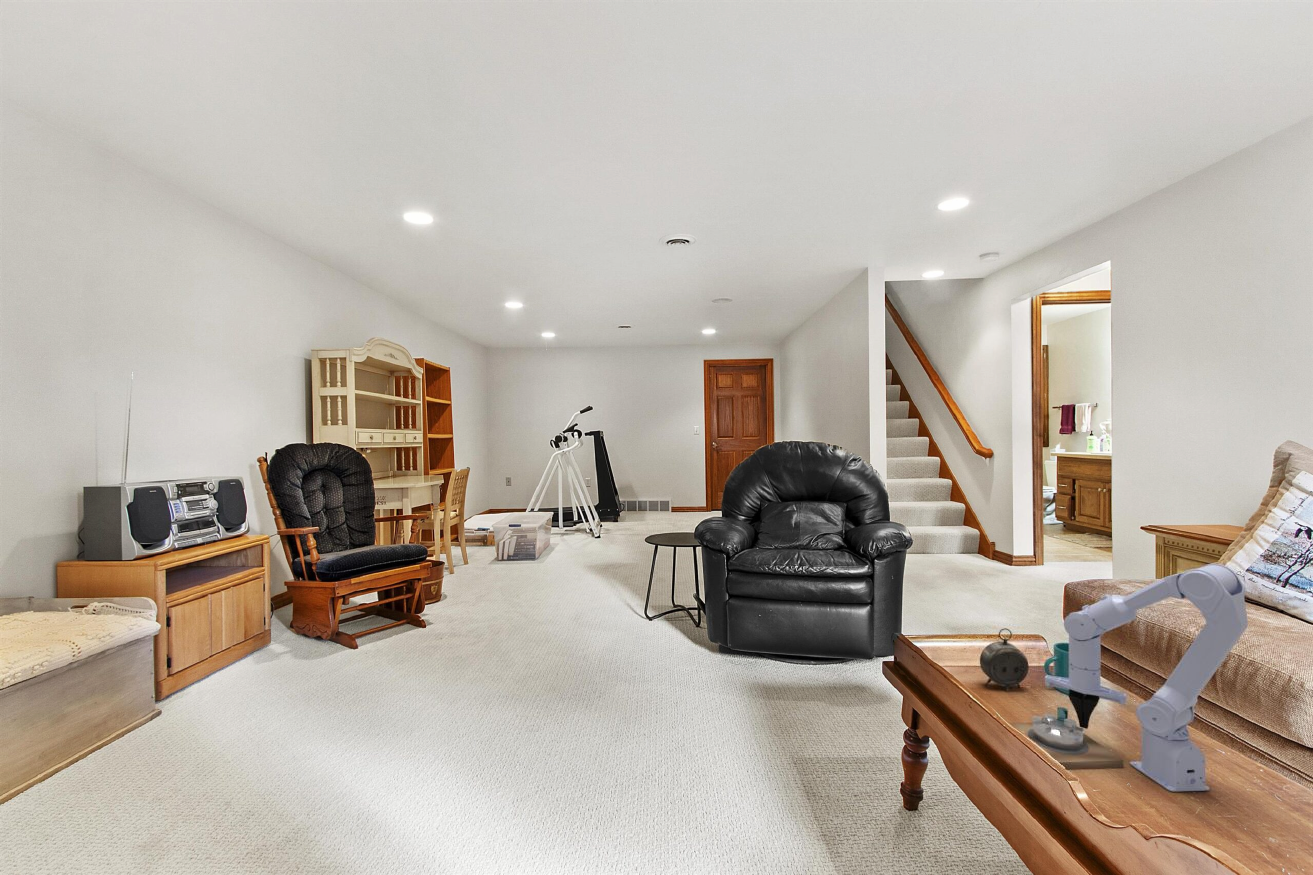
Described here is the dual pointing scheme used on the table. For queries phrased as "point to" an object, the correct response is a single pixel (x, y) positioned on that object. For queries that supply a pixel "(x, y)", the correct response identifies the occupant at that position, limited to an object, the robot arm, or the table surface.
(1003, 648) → the alarm clock
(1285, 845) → the table surface
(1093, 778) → the table surface
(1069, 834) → the table surface
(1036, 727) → the rotary knob
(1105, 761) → the dial board
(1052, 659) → the cup
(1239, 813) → the table surface
